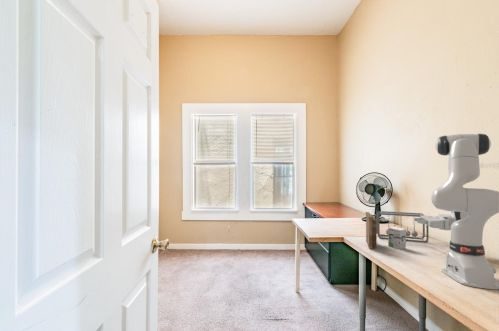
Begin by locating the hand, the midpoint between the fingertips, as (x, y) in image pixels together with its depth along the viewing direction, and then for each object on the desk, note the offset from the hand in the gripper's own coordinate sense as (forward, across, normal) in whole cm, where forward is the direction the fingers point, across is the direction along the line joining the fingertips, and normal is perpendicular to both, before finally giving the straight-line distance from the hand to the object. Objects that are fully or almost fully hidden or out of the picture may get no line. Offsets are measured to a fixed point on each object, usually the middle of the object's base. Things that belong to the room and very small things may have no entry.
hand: (415, 220), depth 160 cm
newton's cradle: (+3, -24, +17) cm, 30 cm away
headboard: (+24, 0, +17) cm, 30 cm away
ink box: (+10, 0, +17) cm, 20 cm away
